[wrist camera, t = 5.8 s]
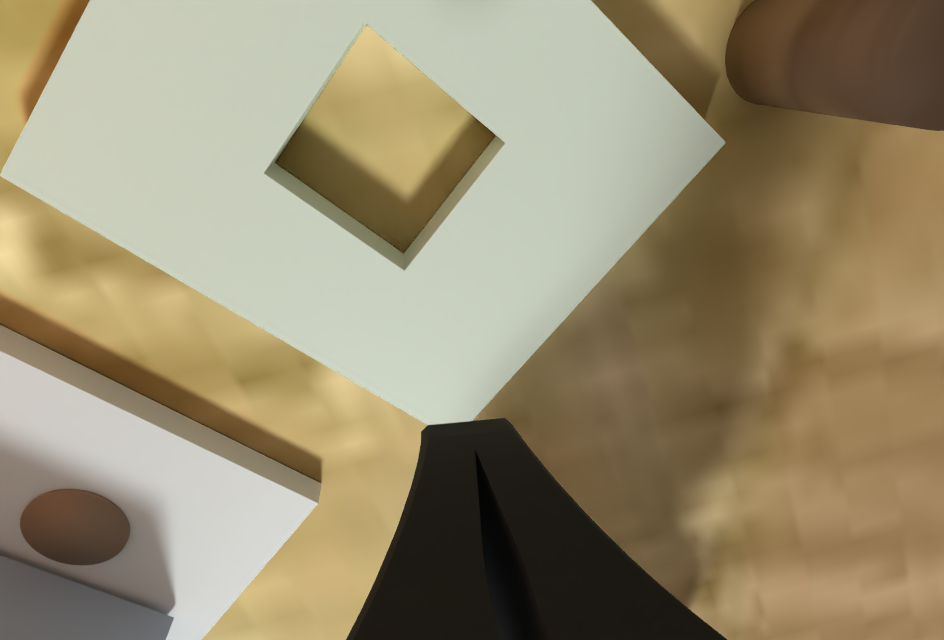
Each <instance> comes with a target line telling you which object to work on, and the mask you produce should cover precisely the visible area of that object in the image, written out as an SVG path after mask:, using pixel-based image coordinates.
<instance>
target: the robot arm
mask: <svg viewBox="0 0 944 640" xmlns="http://www.w3.org/2000/svg"><path fill="white" fill-rule="evenodd" d="M346 640H727V639H726V638H724V637H723V636H722V635H721V634H719V633H718V632H717V631H716V630H714V629H713V628H712V627H711V626H709V625H708V624H707V623H706V622H704V621H703V620H702V619H701V618H699V617H698V616H697V615H695V614H694V613H693V612H692V611H691V610H689V609H688V608H687V607H686V606H685V605H683V604H682V603H681V602H680V601H679V600H678V599H676V598H675V597H674V596H673V595H672V594H670V593H669V592H668V591H667V590H666V589H665V588H663V587H662V586H661V585H660V584H659V583H658V582H656V581H655V580H654V579H653V578H652V577H651V576H650V575H649V574H648V573H646V572H645V571H644V570H643V569H642V568H641V567H640V566H639V565H638V564H637V563H636V562H635V561H633V560H632V559H631V558H630V557H629V556H628V555H627V554H626V553H625V552H624V551H623V550H622V549H621V548H620V547H619V546H618V545H617V544H616V543H615V542H614V541H613V540H612V539H611V538H610V537H609V536H608V535H607V534H606V533H605V532H603V531H602V530H601V528H600V527H599V526H598V525H597V524H596V523H595V522H594V521H593V520H592V519H591V518H590V517H589V516H588V515H587V514H586V513H585V512H584V511H583V510H582V509H581V507H580V506H579V505H578V504H577V503H576V502H575V501H574V500H573V499H572V498H571V496H570V495H569V494H568V493H567V492H566V491H565V490H564V489H563V488H562V487H561V485H560V484H559V483H558V482H557V481H556V480H555V479H554V477H553V476H552V475H551V474H550V473H549V472H548V470H547V469H546V468H545V467H544V466H543V464H542V463H541V462H540V461H539V459H538V458H537V457H536V456H535V455H534V453H533V452H532V451H531V449H530V448H529V447H528V446H527V444H526V443H525V442H524V440H523V439H522V438H521V436H520V435H519V434H518V432H517V431H516V430H515V428H514V427H513V425H512V424H511V423H510V422H509V421H508V420H506V419H505V418H501V419H490V420H479V421H468V422H456V423H445V424H434V425H428V426H427V427H426V428H425V429H424V430H423V431H422V432H421V446H420V453H419V458H418V463H417V467H416V471H415V475H414V478H413V482H412V486H411V489H410V492H409V495H408V498H407V501H406V504H405V507H404V510H403V513H402V516H401V519H400V522H399V524H398V527H397V530H396V532H395V535H394V537H393V540H392V542H391V544H390V547H389V549H388V551H387V554H386V556H385V559H384V561H383V563H382V566H381V568H380V571H379V573H378V575H377V578H376V580H375V582H374V584H373V586H372V589H371V591H370V593H369V595H368V597H367V599H366V601H365V603H364V606H363V608H362V610H361V612H360V614H359V616H358V618H357V620H356V622H355V624H354V625H353V627H352V629H351V631H350V633H349V635H348V637H347V639H346Z"/></svg>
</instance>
